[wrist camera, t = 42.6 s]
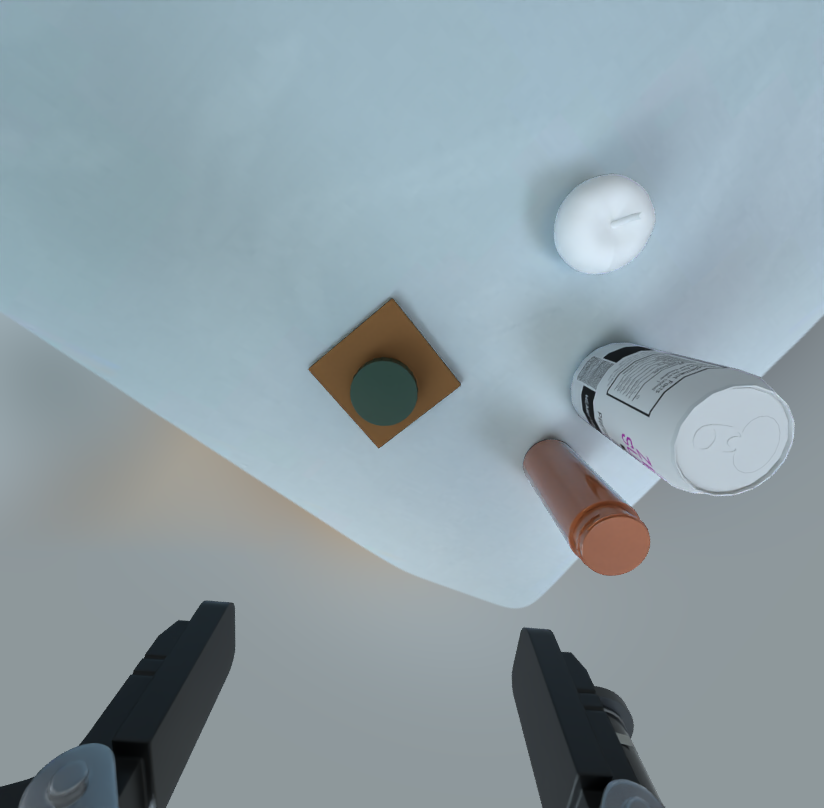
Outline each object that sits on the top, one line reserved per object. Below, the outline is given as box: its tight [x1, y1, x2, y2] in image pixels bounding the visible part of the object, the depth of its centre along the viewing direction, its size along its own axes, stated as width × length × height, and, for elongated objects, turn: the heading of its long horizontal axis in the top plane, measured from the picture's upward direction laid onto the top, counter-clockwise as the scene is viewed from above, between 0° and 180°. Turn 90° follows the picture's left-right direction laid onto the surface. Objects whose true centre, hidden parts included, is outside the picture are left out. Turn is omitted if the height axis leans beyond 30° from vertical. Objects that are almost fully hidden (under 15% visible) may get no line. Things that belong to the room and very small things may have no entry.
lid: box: [350, 357, 418, 426], centre depth 37 cm, size 6×6×2 cm
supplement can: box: [571, 343, 795, 496], centre depth 31 cm, size 8×8×15 cm
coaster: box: [308, 298, 461, 448], centre depth 38 cm, size 10×10×1 cm
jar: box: [523, 439, 650, 576], centre depth 34 cm, size 5×5×14 cm
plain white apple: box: [554, 174, 656, 274], centre depth 31 cm, size 7×7×8 cm
